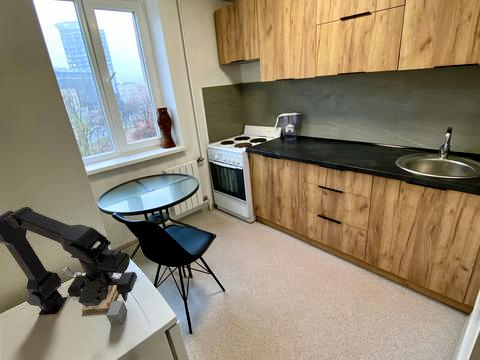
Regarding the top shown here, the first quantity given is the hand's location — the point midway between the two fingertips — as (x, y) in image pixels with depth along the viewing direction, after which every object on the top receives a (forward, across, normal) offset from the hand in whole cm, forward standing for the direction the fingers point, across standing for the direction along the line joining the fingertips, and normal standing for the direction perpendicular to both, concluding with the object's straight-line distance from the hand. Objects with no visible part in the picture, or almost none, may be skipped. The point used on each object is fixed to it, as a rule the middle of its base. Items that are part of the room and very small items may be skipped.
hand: (111, 301), depth 81 cm
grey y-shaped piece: (+8, -22, +16) cm, 28 cm away
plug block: (+8, 0, 0) cm, 8 cm away
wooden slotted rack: (+8, -9, +8) cm, 14 cm away
